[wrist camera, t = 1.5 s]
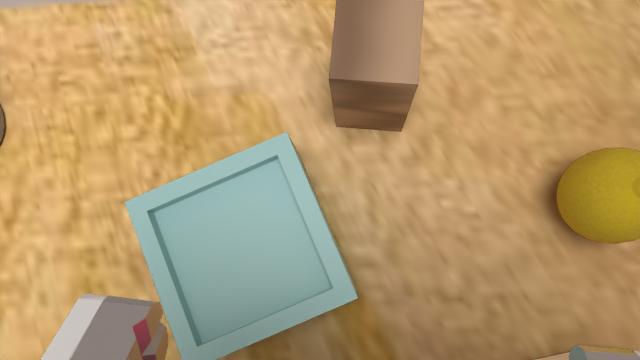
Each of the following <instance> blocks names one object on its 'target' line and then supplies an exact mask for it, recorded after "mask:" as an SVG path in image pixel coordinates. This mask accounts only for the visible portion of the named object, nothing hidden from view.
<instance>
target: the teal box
mask: <svg viewBox="0 0 640 360" xmlns="http://www.w3.org/2000/svg"><path fill="white" fill-rule="evenodd" d="M125 204H126V207H127V210H128V213H129V215H130V218H131V221H132V224H133V226H134V229H135V232H136V235H137V237H138V240H139V243H140V246H141V248H142V251H143V254H144V257H145V259H146V262H147V265H148V268H149V270H150V273H151V276H152V279H153V281H154V284H155V287H156V290H157V292H158V295H159V298H160V301H161V304H162V306H163V309H164V312H165V315H166V317H167V320H168V323H169V326H170V328H171V331H172V334H173V337H174V339H175V342H176V345H177V348H178V350H179V353H180V356H181V359H182V360H216V359H218V358H221V357H223V356H225V355H228V354H230V353H232V352H235V351H237V350H239V349H242V348H244V347H246V346H249V345H251V344H253V343H256V342H258V341H260V340H263V339H265V338H267V337H270V336H272V335H274V334H277V333H279V332H281V331H283V330H286V329H288V328H290V327H293V326H295V325H297V324H300V323H302V322H304V321H307V320H309V319H311V318H314V317H316V316H318V315H321V314H323V313H325V312H328V311H330V310H332V309H335V308H337V307H339V306H341V305H344V304H346V303H348V302H351V301H353V300H355V299H358V292H357V289H356V286H355V284H354V282H353V279H352V277H351V275H350V272H349V270H348V268H347V265H346V263H345V261H344V258H343V256H342V254H341V251H340V249H339V247H338V244H337V242H336V240H335V237H334V235H333V233H332V230H331V228H330V226H329V223H328V221H327V219H326V216H325V214H324V212H323V209H322V207H321V205H320V202H319V200H318V198H317V195H316V193H315V190H314V188H313V186H312V183H311V181H310V179H309V176H308V174H307V172H306V169H305V167H304V165H303V162H302V160H301V158H300V155H299V154H298V152H297V150H296V148H295V146H294V144H293V142H292V141H291V139H290V137H289V135H288V133H287V132H285V133H283V134H281V135H278V136H276V137H274V138H271V139H269V140H267V141H264V142H262V143H260V144H257V145H255V146H253V147H250V148H248V149H246V150H244V151H241V152H239V153H237V154H234V155H232V156H230V157H227V158H225V159H223V160H220V161H218V162H216V163H213V164H211V165H209V166H206V167H204V168H202V169H200V170H197V171H195V172H193V173H190V174H188V175H186V176H183V177H181V178H179V179H176V180H174V181H172V182H169V183H167V184H165V185H162V186H160V187H158V188H156V189H153V190H151V191H149V192H146V193H144V194H142V195H139V196H137V197H135V198H132V199H130V200H128V201H125Z"/></svg>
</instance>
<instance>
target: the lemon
mask: <svg viewBox="0 0 640 360" xmlns="http://www.w3.org/2000/svg"><path fill="white" fill-rule="evenodd" d="M557 205H558V208H559V212H560V214H561V216H562V217H563V219H564V221H565V222H566V223H567V224H568V226H569V227H570V228H571V229H572V230H574V231H575V232H577V233H578V234H580V235H581V236H583V237H585V238H588V239H591V240H594V241H597V242H601V243H613V244H616V243H623V242H629V241H634V240H636V239H638V238H640V151H638V150H633V149H627V148H605V149H601V150H597V151H594V152H590V153H588V154H586V155H584V156H582V157H581V158H579V159H578V160H576V161H575V162H573V163H572V164H571V165H570V167H569V168H568V169H567V170H566V171H565V172H564V174H563V176H562V177H561V179H560V181H559V184H558V188H557Z"/></svg>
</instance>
